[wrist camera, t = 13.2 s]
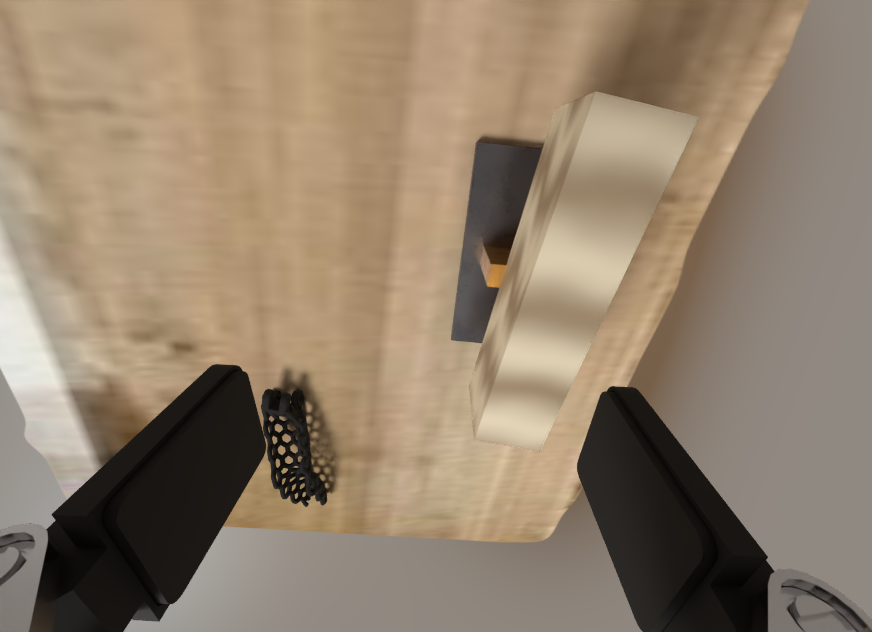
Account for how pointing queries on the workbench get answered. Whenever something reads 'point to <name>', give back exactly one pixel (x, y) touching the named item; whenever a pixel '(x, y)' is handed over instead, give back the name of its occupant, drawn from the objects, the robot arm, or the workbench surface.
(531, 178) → the stand
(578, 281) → the maple bar
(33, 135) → the workbench surface
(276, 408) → the decorative element
